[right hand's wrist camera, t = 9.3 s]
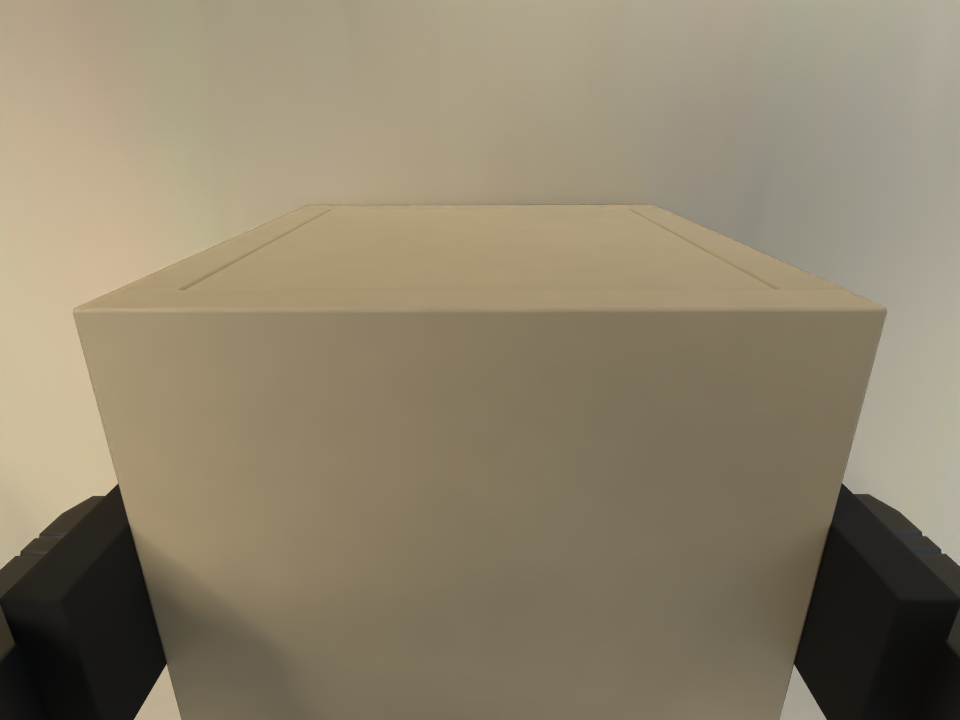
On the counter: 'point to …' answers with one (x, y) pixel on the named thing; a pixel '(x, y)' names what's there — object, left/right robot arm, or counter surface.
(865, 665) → the right robot arm
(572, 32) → the counter surface
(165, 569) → the cabinet
